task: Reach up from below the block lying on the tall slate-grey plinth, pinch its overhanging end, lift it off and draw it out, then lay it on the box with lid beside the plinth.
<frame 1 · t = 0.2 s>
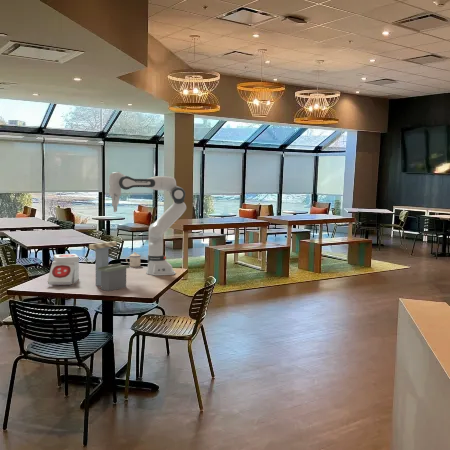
hand: (115, 211, 380), 48 cm above the table, tool pointing down, fingers open, 8 cm apart
plinth: (101, 285, 343), on the table
white box: (64, 282, 348), on the table
block: (103, 247, 342), point 26 cm above the table, touching plinth
teacup with lid: (133, 266, 418), on the table
box with lid: (113, 288, 334), on the table
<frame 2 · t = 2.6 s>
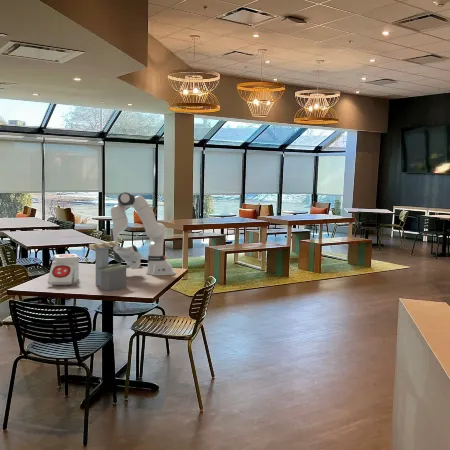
hand: (123, 247, 357), 24 cm above the table, tool pointing upward, fingers open, 8 cm apart
nothing on the table moved.
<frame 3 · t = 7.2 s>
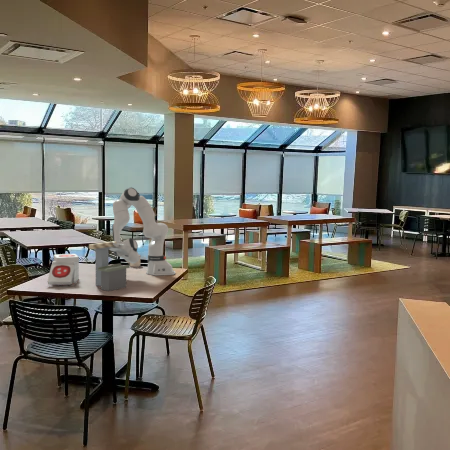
hand: (110, 243, 347), 28 cm above the table, tool pointing upward, fingers closed on block, 3 cm apart
block: (103, 247, 342), point 26 cm above the table, touching gripper, plinth
everything else where it was.
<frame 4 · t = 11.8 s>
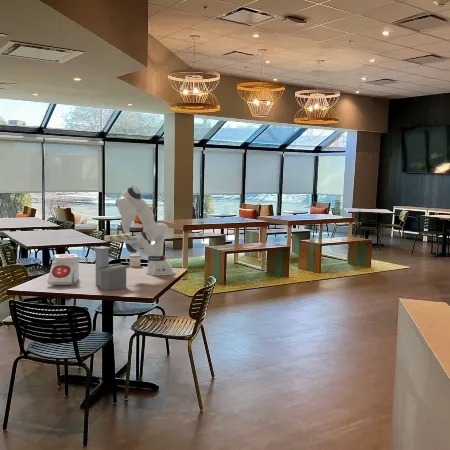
hand: (125, 235, 342), 34 cm above the table, tool pointing upward, fingers closed on block, 3 cm apart
block: (118, 239, 337), point 32 cm above the table, touching gripper
everything else where it was.
when the fingers open (19 cm above the table, at t = 16.4 s): block drops 3 cm, resting on box with lid.
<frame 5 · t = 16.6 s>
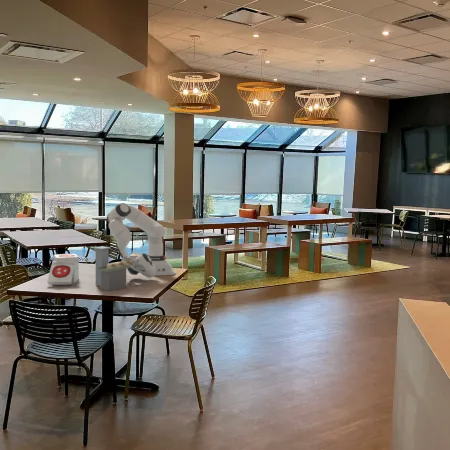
hand: (127, 257, 343), 19 cm above the table, tool pointing upward, fingers open, 5 cm apart
block: (120, 266, 338), point 14 cm above the table, touching box with lid
everything else where it was.
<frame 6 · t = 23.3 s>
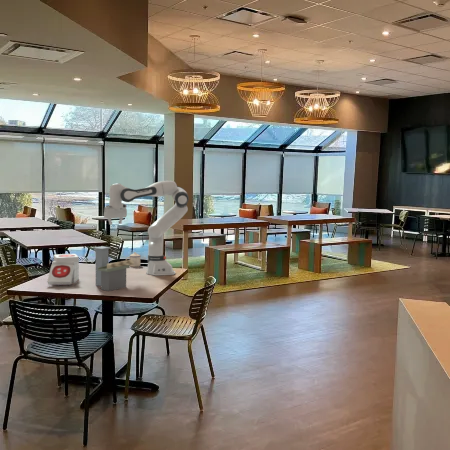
hand: (115, 224, 371), 39 cm above the table, tool pointing down, fingers open, 8 cm apart
nothing on the table moved.
at the end: block inside the target area on the box with lid (1.2 cm from its centre), point 14.0 cm above the box with lid's base; block touching box with lid; the gripper is holding nothing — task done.
